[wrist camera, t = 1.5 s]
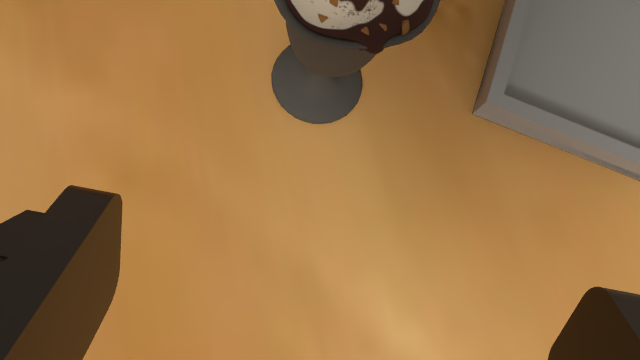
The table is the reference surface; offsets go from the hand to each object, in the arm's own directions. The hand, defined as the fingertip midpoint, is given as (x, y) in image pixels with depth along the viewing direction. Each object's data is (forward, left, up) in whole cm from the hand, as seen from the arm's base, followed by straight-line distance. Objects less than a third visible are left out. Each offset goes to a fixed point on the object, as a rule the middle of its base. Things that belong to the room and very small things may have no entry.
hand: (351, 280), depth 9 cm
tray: (+13, +19, -18) cm, 29 cm away
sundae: (-2, +11, -18) cm, 21 cm away
